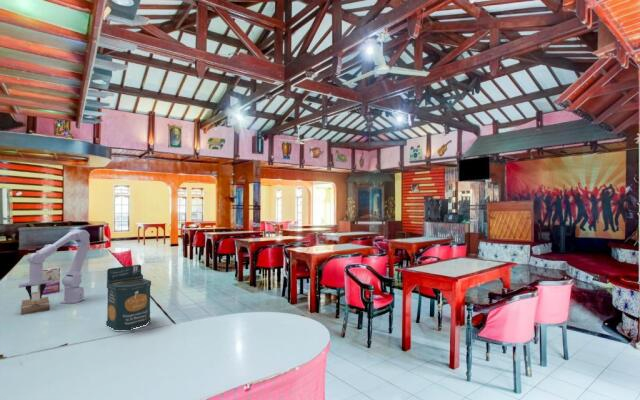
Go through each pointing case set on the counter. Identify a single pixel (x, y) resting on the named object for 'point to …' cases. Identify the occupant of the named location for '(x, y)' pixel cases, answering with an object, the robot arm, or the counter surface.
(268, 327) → the counter surface
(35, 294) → the plug
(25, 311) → the socket board
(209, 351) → the counter surface
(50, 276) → the candy bar box
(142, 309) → the donation box
